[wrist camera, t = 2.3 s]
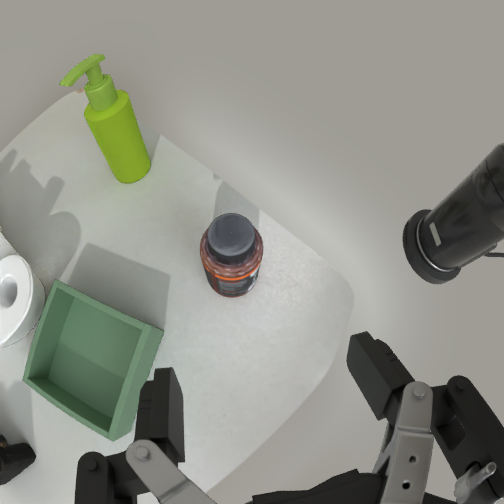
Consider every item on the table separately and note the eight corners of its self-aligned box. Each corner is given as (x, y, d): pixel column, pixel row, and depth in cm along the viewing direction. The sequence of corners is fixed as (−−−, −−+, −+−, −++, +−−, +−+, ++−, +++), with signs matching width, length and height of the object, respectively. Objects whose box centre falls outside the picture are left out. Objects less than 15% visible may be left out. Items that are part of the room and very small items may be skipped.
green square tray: (164, 331, 31) (151, 325, 26) (130, 431, 26) (113, 441, 21) (76, 290, 32) (55, 278, 27) (45, 380, 27) (22, 380, 22)
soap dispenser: (103, 181, 38) (48, 80, 20) (130, 149, 41) (93, 45, 22) (130, 194, 38) (76, 84, 19) (158, 159, 40) (126, 46, 21)
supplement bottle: (266, 284, 34) (280, 248, 23) (221, 307, 33) (214, 281, 22) (242, 243, 36) (246, 193, 25) (199, 263, 34) (184, 220, 24)
